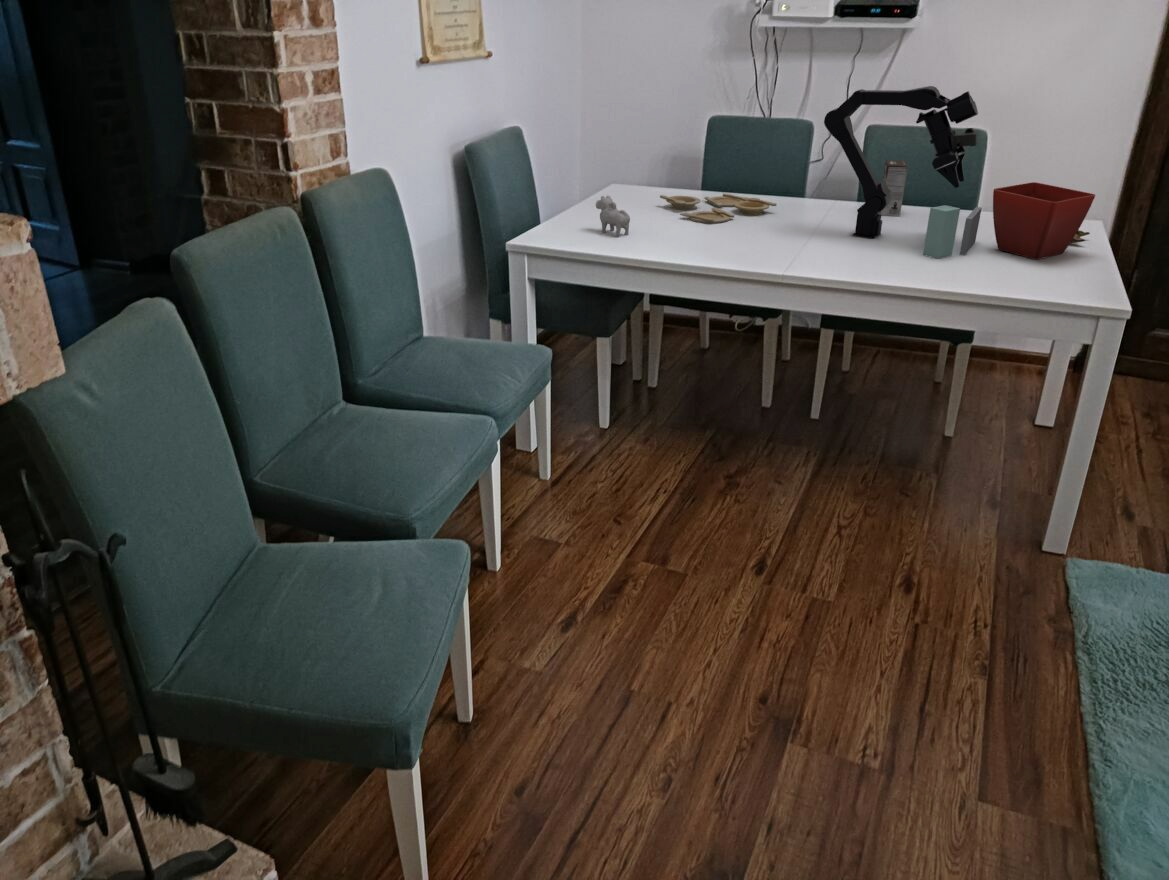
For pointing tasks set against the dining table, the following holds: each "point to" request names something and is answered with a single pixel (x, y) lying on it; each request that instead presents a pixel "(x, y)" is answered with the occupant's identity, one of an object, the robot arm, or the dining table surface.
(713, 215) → the tableware set
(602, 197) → the dog figurine
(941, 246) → the cabinet box
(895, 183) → the coffee box
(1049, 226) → the plant pot
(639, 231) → the dining table surface
